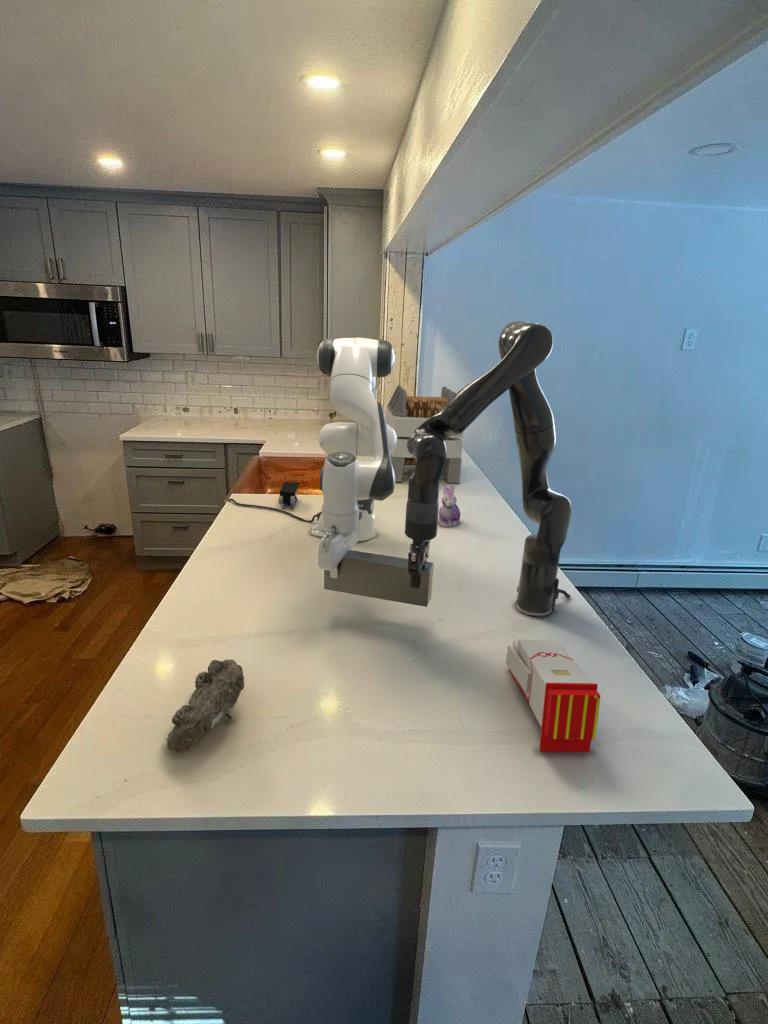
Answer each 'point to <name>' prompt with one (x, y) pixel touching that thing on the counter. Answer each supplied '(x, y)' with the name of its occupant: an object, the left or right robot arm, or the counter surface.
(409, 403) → the transformer
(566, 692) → the toy
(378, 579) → the bar
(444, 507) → the figurine
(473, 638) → the counter surface
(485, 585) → the counter surface
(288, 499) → the figurine character
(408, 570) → the right robot arm
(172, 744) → the fossil
